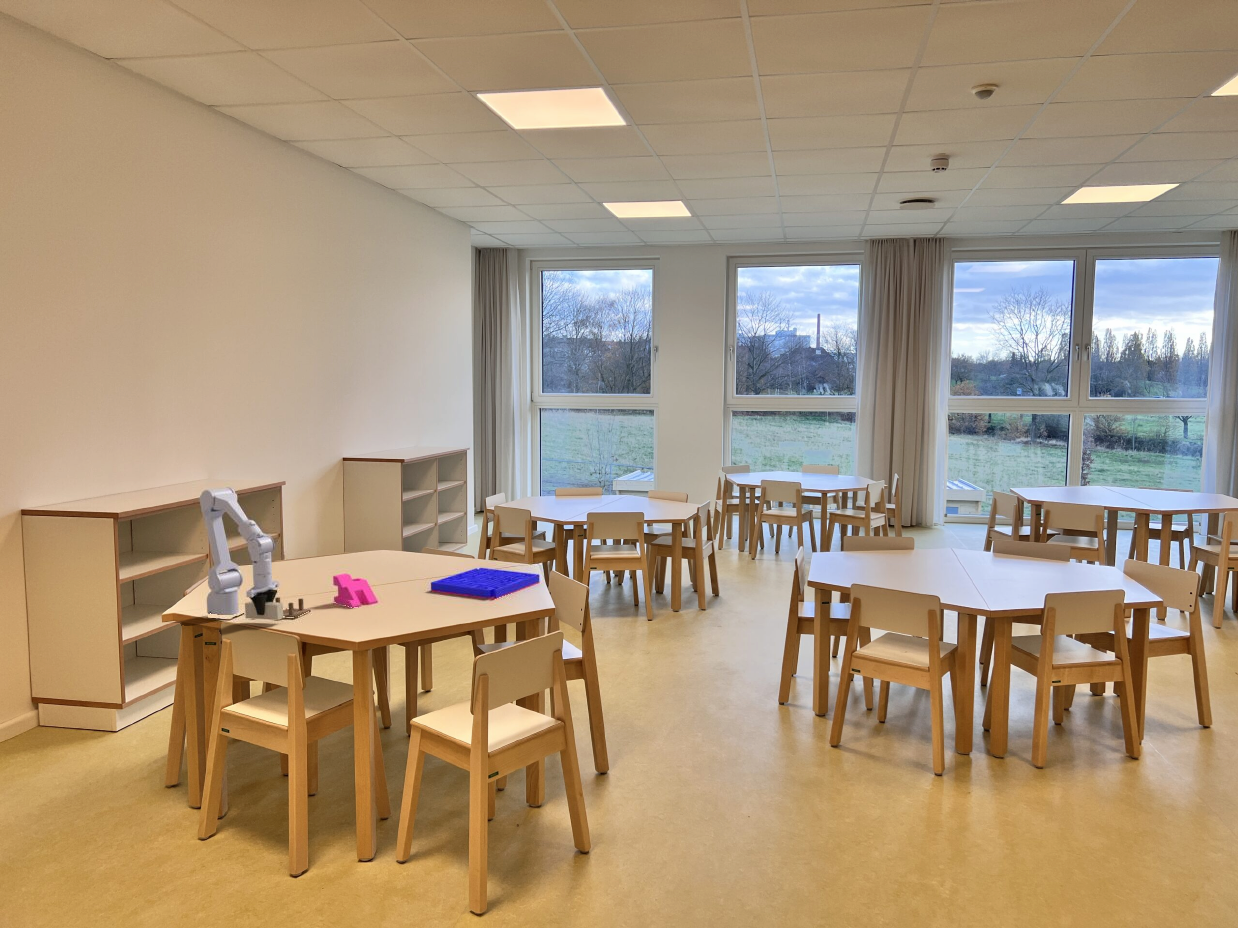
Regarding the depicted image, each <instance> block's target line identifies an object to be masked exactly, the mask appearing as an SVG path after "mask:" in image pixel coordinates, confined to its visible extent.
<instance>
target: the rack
mask: <svg viewBox="0 0 1238 928" xmlns="http://www.w3.org/2000/svg"><path fill="white" fill-rule="evenodd" d="M274 602H277V603H281V597H279V596H277V597H276V596H275V598H274ZM297 602H298V608H294V602H289V603H288V605H287V606H288V607H285V608H286V609H285V610H283V616H285V617H294V618H296V617H298V616H300V615H302V614H304V613H306V612H308V611H310V612H311V609H310V608H309V609H308V608H304V598H298V601H297ZM287 608H289V609H287ZM296 619H297V618H296Z"/></svg>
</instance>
